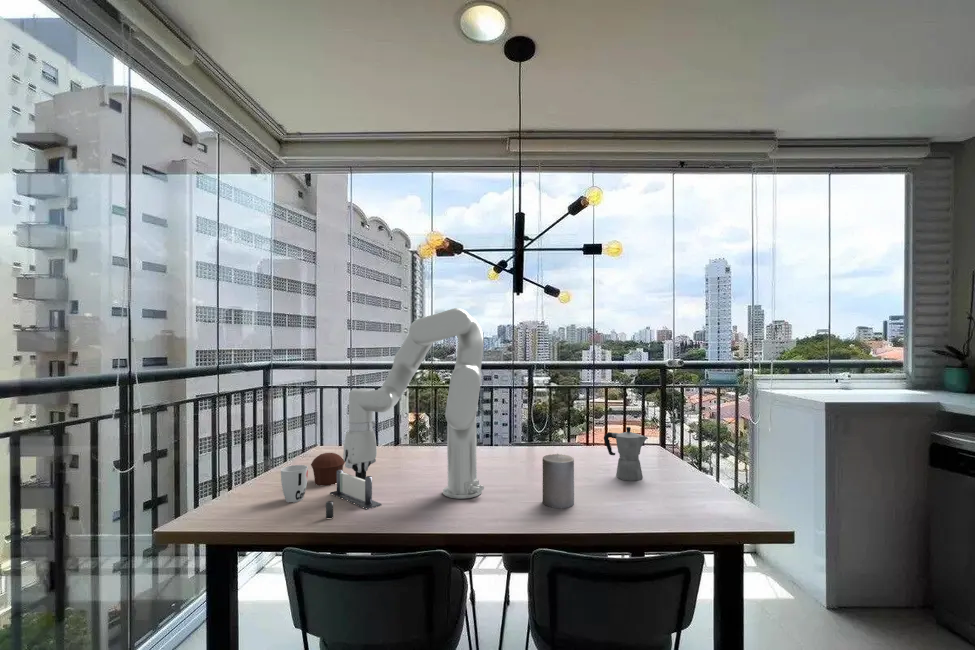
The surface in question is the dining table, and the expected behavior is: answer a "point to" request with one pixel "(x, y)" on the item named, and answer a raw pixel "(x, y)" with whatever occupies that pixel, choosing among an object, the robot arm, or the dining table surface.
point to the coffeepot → (627, 454)
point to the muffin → (327, 468)
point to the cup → (294, 482)
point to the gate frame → (368, 496)
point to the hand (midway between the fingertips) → (360, 483)
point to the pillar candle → (558, 481)
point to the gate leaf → (352, 486)
